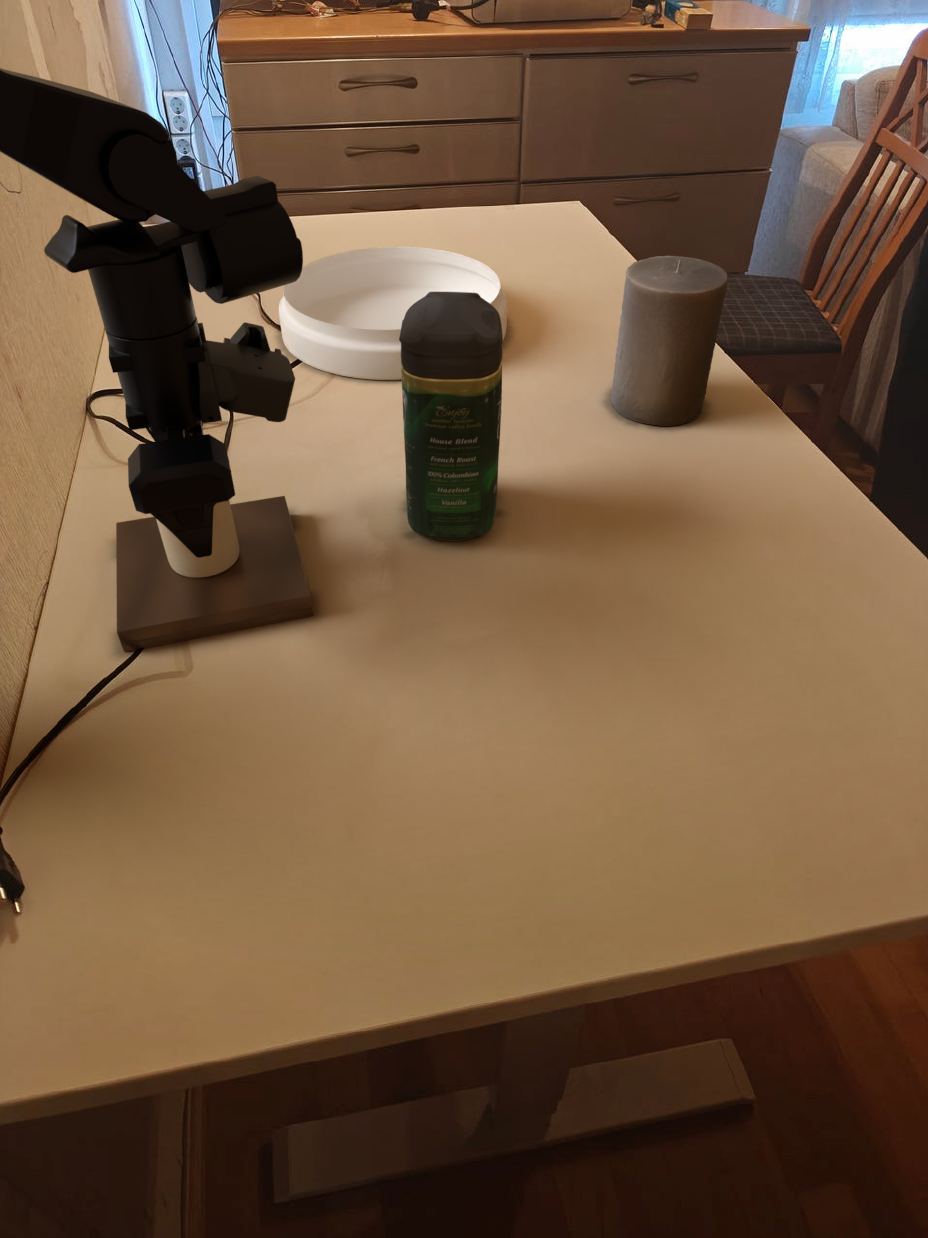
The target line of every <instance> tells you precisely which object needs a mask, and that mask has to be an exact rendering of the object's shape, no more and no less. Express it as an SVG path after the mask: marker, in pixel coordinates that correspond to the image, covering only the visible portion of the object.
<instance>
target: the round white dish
mask: <svg viewBox="0 0 928 1238" xmlns="http://www.w3.org/2000/svg"><path fill="white" fill-rule="evenodd" d="M282 290H283V292H282V293H283V296H282V297H281V299H280V300H279V304H278V318H279V325H280V332H281V338H282V341H283V344H284V346H285V347H286V349H287V351H288V352H289V353H291V355H292V356H294V357H295V358H296V359H298V360H299V361H300V362H302V363H304V364H306V365H308V366H310V367H312V368H314V369H317V370H321V371H322V372H326V373H329V374H333V375H337V376H342V377H347V378H353V379H362V380H363V379H364V380H373V381H374V380H375V381H400V380H401V381H402V374H401V342H400V341H399V337H400V332H401V326H402V321H403V320H404V317H405V314H406V312H407V310H408V309H409V308H410V307H411V306H412V305H413V304H414V303H416V302H417V301H418V300H420V299H421V298H423V297H425V296H426V295H427V294H428V293H429V292H470V293H478V294H479V295H480V297H481V298H483V299H484V300H486V301H487V302H488V303H490V304H491V305H492V306H493V307H494V308H495V309H496V310H497V311H498V313H499V315H500V320H501V325H502V337H503V341H504V339H505V337H506V335H507V334H506V333H507V326H508V325H507V324H508V323H507V321H508V301H507V296H506V295H505V294H506V293H504V291H503V290H502V288H501V280H500V278H499V276H498V275H497V273H495V271H494V270H493V269H491V267H489V266H488V265H486V264H485V263H483V262H481V261H479V260H477V259H474V258H472V257H469V256H467V255H463V254H460V253H457V252H452V251H448V250H443V249H436V248H429V247H420V246H419V247H417V246H379V247H368V248H360V249H354V250H348V251H343V252H338V253H335V254H331V255H327V256H323V257H322V258H319V259H318V258H317V259H316V260H313V261H311V262H309V263H307V264H305V265H303V266H302V272H301V275H300V277H299V278H298V280H297V281H295V282H293V283H290V284H287V285H284V286H283V289H282Z"/></svg>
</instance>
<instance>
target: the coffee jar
mask: <svg viewBox="0 0 928 1238" xmlns="http://www.w3.org/2000/svg"><path fill="white" fill-rule="evenodd" d="M399 341H400V342H401V374H402V380H401V394H402V395H401V396H402V397H401V398H402V419H403V439H404V441H403V443H404V458H405V460H404V463H405V495H406V498H405V499H406V515H407V516H406V517H407V522H408V525H409V527H410V528H411V530H412V531H413V532H414V533H416V534H418V535H420V536H421V537H425V538H429V539H433V540H436V541H444V542H459V541H460V542H461V541H466V540H471V539H476V538H478V537H481V536H484V535H486V534H488V533H489V531H491V529H492V527H493V526H494V524H495V519H496V514H497V500H498V485H499V483H498V482H499V480H498V479H499V459H500V458H499V457H500V443H501V442H500V441H501V425H502V424H501V422H502V403H503V402H502V401H503V397H502V396H503V359H504V357H503V354H504V353H503V341H504V340H503V337H502V325H501V320H500V315H499V313H498V311H497V310H496V309H495V308H494V307H493V306H492V305H491V304H490V303H488V302H487V301H486V300H484V299H483V298H481V297H480V295H479V294H478V293H470V292H429V293H428V294H427V295H426V296H425V297H423V298H421V299H420V300H418V301H417V302H416V303H414V304H413V305H412V306H411V307H410V308H409V309H408V310H407V312H406V314H405V317H404V320H403V321H402V326H401V332H400V337H399Z"/></svg>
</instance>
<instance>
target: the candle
mask: <svg viewBox="0 0 928 1238" xmlns="http://www.w3.org/2000/svg"><path fill="white" fill-rule="evenodd" d="M230 504H231V501H230V499H229V500H228V501H224V502H220V503H217V504H216V505H215V506H214V511H213V537H212V554H211V555H210V556H206V557H201V558H198V557H196V556H195V555H194V554H193V553H192V552H191V551H190V550H189V549H188V548H187V547H186V546H185V545H184V544H183V543H182V542H181V541H180V540H179V539H178V538H177V537H176V536H175V535H174V534H173V533H172V532H170V531H169V530H168V529H167V528H166V527H165V526H164V525H163V524H162V523H161V522H160V521H158V520H157V519H156V520H157V524H158V527H159V530H160V534H161V537H162V541H163V544H164V548H165V551H166V555H167V558H168V561H169V563H170V565H171V567H172V569H173V570H174V571H175V572H177V573H178V574H181V575H183V576H187V577H196V578H199V577H208V576H212V575H216V574H219V573H221V572H223V571H225V570H227V569H228V568H230V567H231V566H232V565H233V564H234V563H235V562H236V561H237V559H238V556H239V544H238V538H237V534H236V529H235V524H234V520H233V515H232V510H231V506H230Z"/></svg>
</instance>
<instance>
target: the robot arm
mask: <svg viewBox="0 0 928 1238" xmlns="http://www.w3.org/2000/svg"><path fill="white" fill-rule="evenodd" d="M170 135H171V134H170V132H169V130H168V129H167V128H166V126H165V125H163V124H162V122H161V121H159V120H157V119H156V118H155V117H153V116H152V115H150V114H149V113H148V112H145V111H142V110H140V109H137V108H136V107H132V106H130V105H127V104H126V103H125V104H124V103H122V102H120V101H117V100H114V99H111V98H109V97H106V96H104V95H102V94H99V93H96V92H93V91H90V90H86V89H83V88H79V87H75V86H72V85H67V84H64V83H60V82H57V81H53V80H49V79H45V78H42V77H38V76H33V75H29V74H25V73H22V72H17V71H12V70H8V69H4V68H1V67H0V153H1V154H3V155H4V156H5V157H8V158H9V159H11V160H12V161H15V162H16V163H18V164H20V166H21V165H22V166H24V167H25V168H27V169H28V170H30V171H32V172H33V173H35V174H36V175H39V176H40V177H42V178H44V179H45V180H47V181H49V182H50V183H52V184H54V185H55V186H57V187H59V188H61V189H63V190H64V191H66V192H68V193H69V194H71V195H73V196H75V197H77V198H79V199H80V200H82V201H84V202H85V203H87V204H89V205H92V207H94V208H97V209H98V210H100V211H101V212H104V213H105V214H107V215H109V216H111V217H113V218H115V220H110V221H106V222H102V223H97V224H92V225H89V226H86V225H85V224H84V223H83V222H81V221H80V220H77V219H76V218H74V217H73V216H71V215H68V214H65V215H63V216H62V218H61V223H60V226H59V228H58V229H57V231H56V232H55V234H54V235H52V236H51V238H50V239H49V241H48V242H47V243H46V245H45V247H44V250H43V252H44V254H45V256H46V257H48V258H49V259H50V260H52V261H53V262H55V263H56V264H58V265H59V266H61V267H62V268H63V269H65V270H67V271H68V272H70V273H71V274H76V273H80V272H84V271H88V275H89V278H90V282H91V286H92V289H93V292H94V296H95V299H96V303H97V307H98V310H99V313H100V317H101V320H102V324H103V327H104V331H105V335H106V338H107V343H108V360H109V364H110V367H111V370H112V374H115V373H117V377H118V381H119V383H120V388H121V391H122V395H123V398H124V401H125V407H124V408H125V419H126V422H127V425H128V429H129V431H137V430H143V429H145V430H146V431H147V433H148V434H149V435H150V437H151V438H152V440H153V441H151V442H145V443H144V442H143V443H138V444H137V446H136V447H135V449H134V450H133V451H132V453H130V455H129V456H128V458H127V476H128V477H127V479H128V490H129V491H130V492H129V493H130V496H131V499H132V502H133V505H134V509H135V511H136V512H137V513H141V514H144V515H149V514H150V515H151V516H152V517H155V518H156V519H157V520H158V521H160V522H161V523H162V524H163V525H164V526H165V527H166V528H167V529H168V530H169V531H170V532H172V533H173V534H174V535H175V536H176V537H177V538H178V539H179V540H180V541H181V542H182V543H183V544H184V545H185V546H186V547H187V548H188V549H189V550H190V551H191V552H192V553H193V554H194V555H195V556H196V557H198V558H201V557H206V556H210V555H211V554H212V537H213V511H214V506H215V505H216V504H217V503H220V502H224V501H228V500H229V501H230V500H231V499H232V498H233V497H235V496H236V491H235V484H234V481H233V480H234V479H233V475H232V470H231V464H230V459H229V455H228V450H227V444H226V443H224V442H223V441H221V440H219V439H218V438H216V437H214V436H213V435H211V434H210V433H207V434H204V429H203V424H210V423H216V422H222V421H223V419H222V413H221V409H223V410H224V411H227V412H230V413H236V414H242V415H247V416H253V417H259V418H264V419H265V420H266V421H268V422H272V423H282V422H284V421H286V420H287V415H288V411H289V407H290V404H291V398H292V394H293V391H294V386H295V381H296V377H295V373H294V371H293V368H292V367H293V366H292V365H291V361H290V360H289V358H288V357H287V356H286V355H284V354H283V353H282V349H280V348H274V351H273V350H271V348H270V344H269V340H268V337H267V334H266V331H265V328H264V326H263V325H259V324H255V323H250V322H246V321H245V322H243V323H242V324H241V325H240V326H239V328H238V329H237V330H236V331H235V332H234V333H233V335H232V336H231V337H230V338H229V337H224V338H223V342H220V341H214V340H208V339H207V338H206V333H205V328H204V323H203V322H199V320H198V317H197V315H196V310H195V309H196V308H195V304H194V300H193V296H192V290H191V288H192V289H194V290H195V291H196V292H197V293H200V294H201V293H205V295H206V296H207V297H208V298H209V299H211V300H212V302H214V303H216V304H220V305H223V304H226V303H229V302H233V301H236V300H240V299H243V298H247V297H250V296H253V295H257V294H259V293H264V292H267V291H270V290H273V289H276V288H281V287H284V285H287V284H290V283H293V282H295V281H297V280H298V278H299V277H300V275H301V272H302V267H303V266H304V253H303V243H302V241H301V239H300V238H299V237H298V236H297V232H296V230H295V227H294V224H293V222H292V219H291V218H290V217H291V216H289V214H288V212H287V210H286V209H285V207H284V205H282V203H281V202H280V201H279V198H278V189H277V183H275V182H274V181H272V180H269V179H267V178H264V177H262V176H260V175H255V176H254V175H253V176H250V177H246V178H242V179H240V180H238V181H237V182H235V183H233V184H229V185H225V186H224V185H223V186H221V187H216V188H210V189H206V190H203V189H202V188H201V187H200V186H199V185H198V184H197V183H196V182H195V181H194V180H193V179H192V178H191V177H190V175H188V173H187V172H186V171H185V170H184V169H182V167H181V166H180V165H179V163H178V156H177V150H176V149H175V145H174V144H173V141H172V139H171V136H170ZM154 216H158V217H160V218H162V219H165V220H167V221H166V222H161V223H157V224H151V225H146V226H143V224H141V223H145V222H147V221H149V219H150V218H152V217H154Z"/></svg>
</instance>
